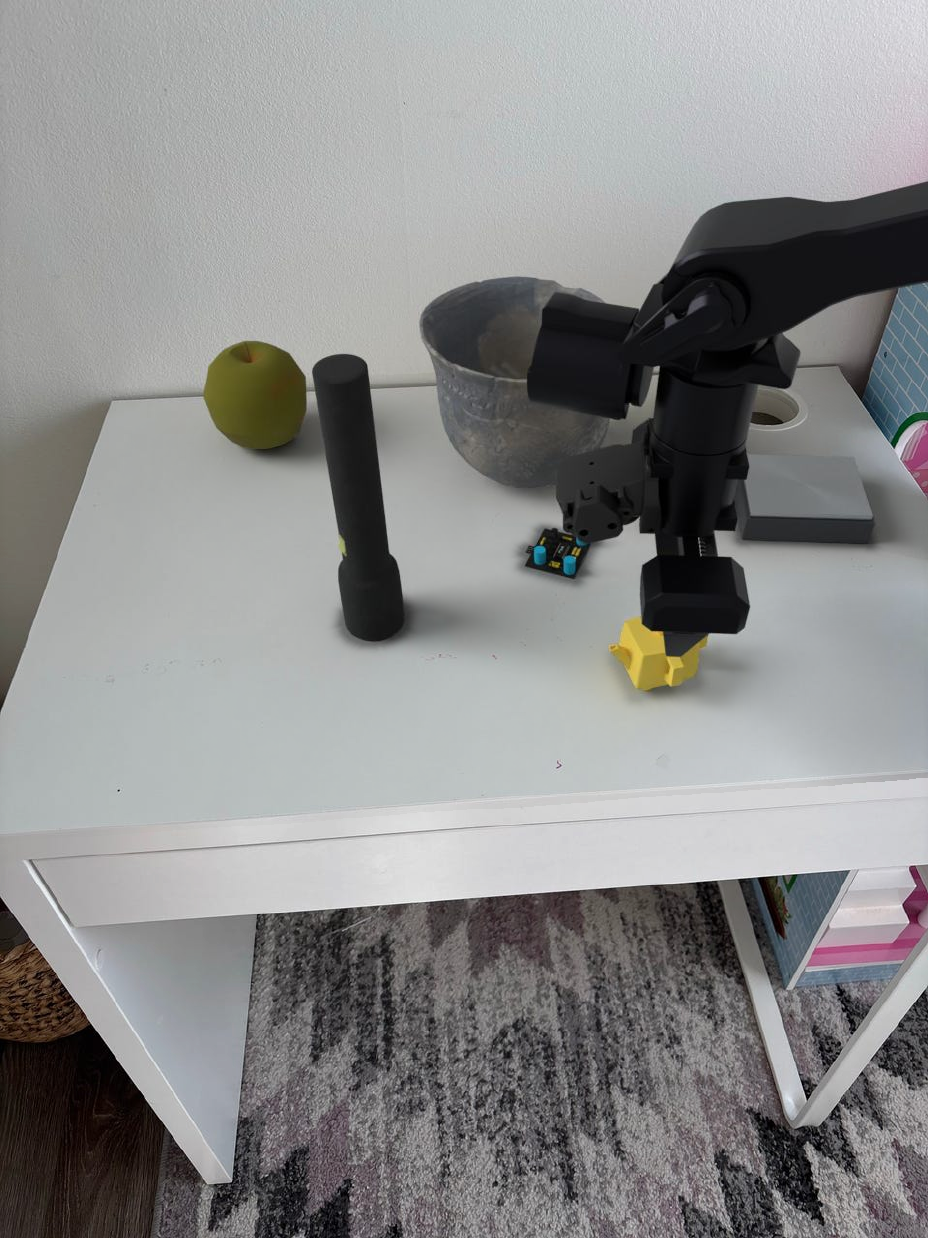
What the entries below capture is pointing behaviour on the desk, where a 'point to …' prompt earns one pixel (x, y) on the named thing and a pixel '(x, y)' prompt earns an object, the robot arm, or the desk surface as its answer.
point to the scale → (803, 500)
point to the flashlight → (358, 499)
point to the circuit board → (557, 553)
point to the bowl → (501, 381)
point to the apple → (256, 395)
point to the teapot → (653, 657)
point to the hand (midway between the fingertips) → (668, 607)
